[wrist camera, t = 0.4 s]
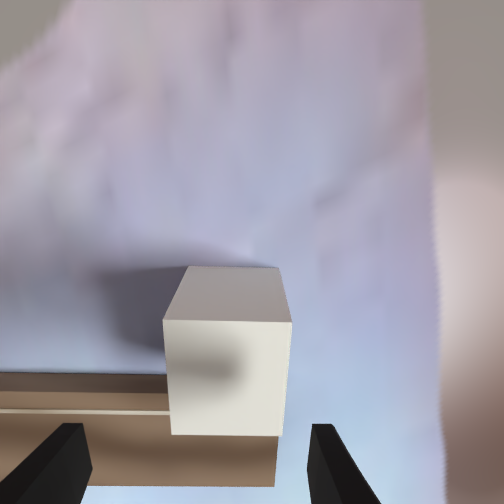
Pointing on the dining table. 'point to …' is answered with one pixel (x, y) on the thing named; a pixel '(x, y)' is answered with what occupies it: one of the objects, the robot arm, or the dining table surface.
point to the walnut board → (125, 432)
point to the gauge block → (228, 352)
